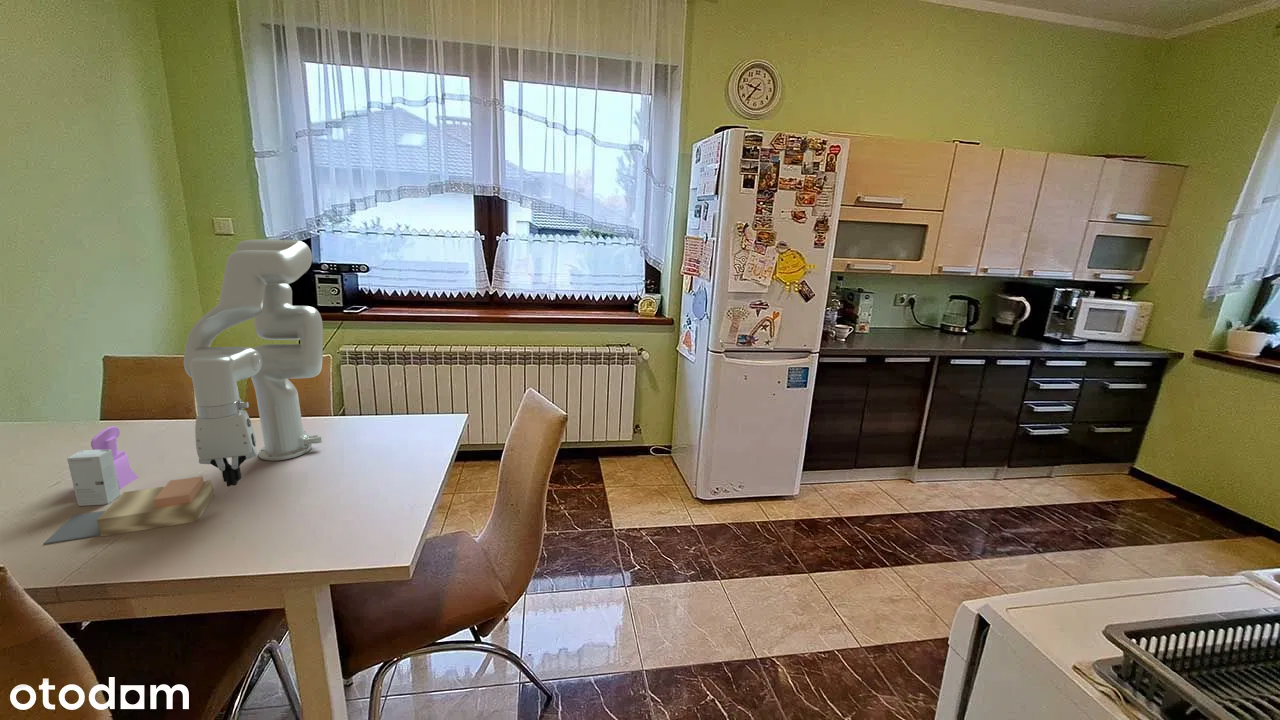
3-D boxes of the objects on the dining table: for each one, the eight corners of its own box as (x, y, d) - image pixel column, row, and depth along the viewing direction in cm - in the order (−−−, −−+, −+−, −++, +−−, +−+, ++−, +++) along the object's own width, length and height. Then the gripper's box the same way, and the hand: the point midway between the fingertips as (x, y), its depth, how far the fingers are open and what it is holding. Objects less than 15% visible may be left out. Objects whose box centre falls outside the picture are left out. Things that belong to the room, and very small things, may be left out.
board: (214, 495, 125) (211, 480, 124) (197, 521, 114) (193, 505, 113) (128, 507, 118) (124, 492, 117) (101, 536, 108) (96, 519, 107)
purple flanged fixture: (101, 477, 131) (86, 422, 127) (141, 475, 133) (128, 421, 129) (73, 494, 123) (57, 436, 119) (116, 491, 125) (102, 434, 121)
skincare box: (77, 506, 118) (63, 458, 115) (92, 496, 122) (79, 450, 119) (109, 504, 119) (96, 456, 116) (123, 494, 124) (111, 448, 120)
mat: (127, 508, 118) (126, 507, 118) (102, 535, 108) (102, 533, 108) (73, 516, 114) (73, 515, 114) (43, 544, 105) (43, 543, 105)
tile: (204, 483, 122) (202, 476, 122) (190, 502, 114) (188, 494, 114) (171, 488, 120) (170, 480, 119) (155, 507, 112) (153, 499, 111)
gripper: (264, 400, 122) (275, 471, 127) (184, 407, 116) (198, 481, 121) (256, 411, 115) (268, 485, 120) (171, 418, 109) (186, 496, 114)
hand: (233, 483), depth 120 cm, fingers closed
